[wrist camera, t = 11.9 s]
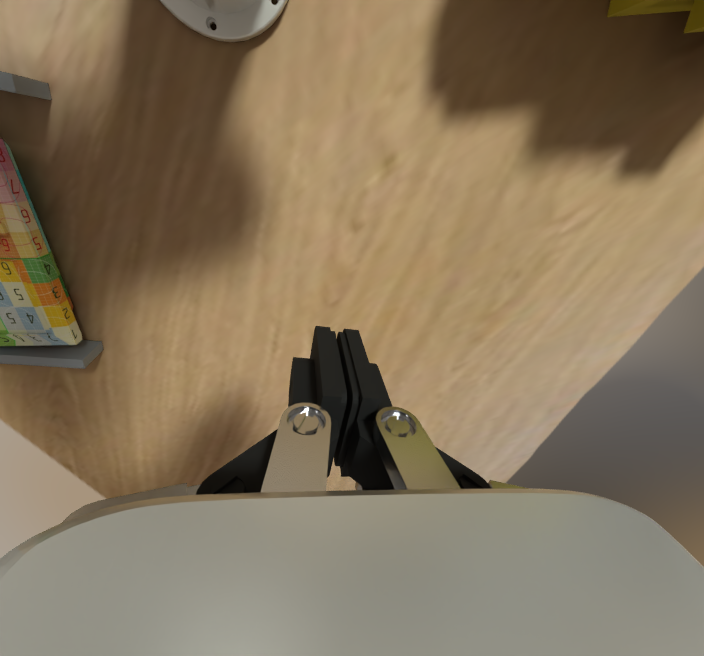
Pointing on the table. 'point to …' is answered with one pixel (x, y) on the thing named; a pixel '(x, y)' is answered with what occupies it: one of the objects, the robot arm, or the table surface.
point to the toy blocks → (661, 10)
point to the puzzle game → (28, 271)
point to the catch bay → (54, 353)
